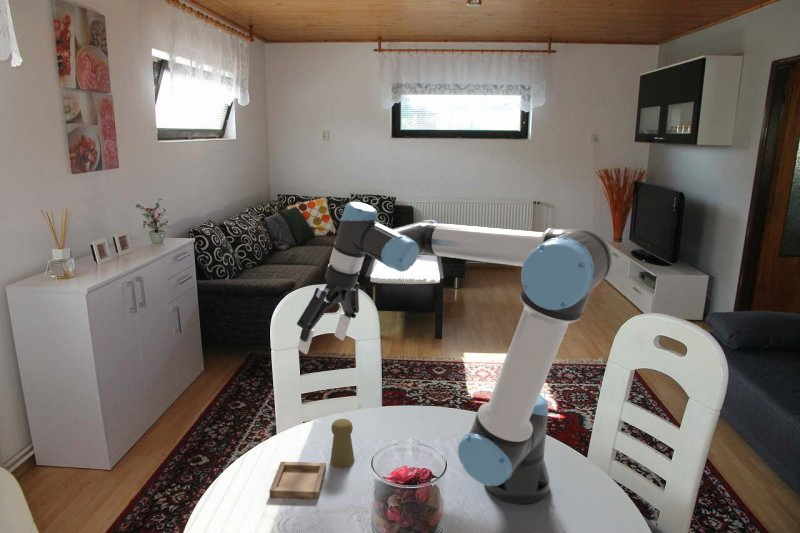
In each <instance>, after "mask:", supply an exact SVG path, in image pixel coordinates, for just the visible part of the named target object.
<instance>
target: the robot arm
mask: <svg viewBox="0 0 800 533" xmlns="http://www.w3.org/2000/svg"><path fill="white" fill-rule="evenodd" d="M377 219H378V210H377V208H375V207H373V206H372V205H370V204H367V203H364V202H360V201H351V202H348V203H347V204H346V205H345V207H344V210H343V213H342V215H341V218H340V222H339V226H338V230H337V233H336V237H335V242H334V244H333V248H332V252H331V255H330V258H329V264H328V265H327V268H326V271H325V275H324V278H325V280H326V285H325V287H324V288H320V287H319V286H317V287H316V288H315V289H314V292H313V295H312V297H311V299H310V300H309V303H308V304H307V306H306V308H305V309H304V311H303V312H302V314H301V316H300V318H299V319H298V320H297V322H296V325H297V326H298V327H300V328H301V332H300V336H299V342H298V345H297V349H298V351H300V352H301V353H303V354H304V355H308V354H309V350H310V347H311V343H312V339H313V336H314V333H315V329H314V327H315V326H316V325H317V323H319V321H320V320H321V318H322V317H323V316H324V314H326V312H327V311H328V309H331V308H332V307H333V306H334V305H336V304H340V306H341V308H342V311H343V312H342V313H340V316H339V319H338V323H337V325H336V328H335V329H336V330H335V332H334V337H336V338H337V339H339V340H341V341H344V340H345V338H346V335H347V331H348V328H349V326H350V323H351V322H350V321H351V319H355V318H356V317H357V314H358V313H359V312H360V302H359V299H360V298H359V289H360V283H359V282H358V279H359V276H360V271H361V269H362V266H363V262H364V259H365V256H366V255H368V256H370V257H372V258H374V260H376V261H378V262H380V263H381V264H383V265H385V266H386V267H388V268H390V269H393V270H396V271H397V272H407V270H410V268H411V267H413V265H414V264H415V263H416V260H417V259H418V256H421V255H427V256H434V257H435V256H436V257H445V258H446V257H447V258H453V259H454V258H455V259H461V260H467V261H468V260H470V261H477V262H478V261H479V262H486V263H493V264H500V265H508V266H517V267H521V273H520V277H521V278H520V279H521V280H520V281H521V285H522V289H521V292H520V295H519V299H520V301H521V303H522V304H523V309H522V312H521V315H520V317H519V321H518V323H517V326H516V329H515V331H514V334H513V337H512V340H511V343H510V346H509V348H508V351H507V353H506V356H505V359H504V361H503V364H502V366H501V369H500V372H499V375H498V377H497V380H496V383H495V385H494V388H493V391H492V392H491V393H492V394H491V396H490V399H489V401H488V402H485V403H482V404H481V405H480V406H479V408H478V410H477V413H476V415H475V417H474V418H475V419H474V421H473V423H472V426H471V429H470V430H469V432H468V433H467V434H465V435H464V436H463V437H462V438H461V440H460V442H459V444H458V447H457V453H458V455H457V456H458V459H459V463H461V465H462V468H463V469H464V471H465V472H466V473H467V474H468V475H469V476H470V477H471V478H472V479H473V480H474V481H477V482H478V483H480V484H482V485H484V486H485V488H486V489H487V491H488V493H490V494H491V495H493V496H494V497H496V498H498V499H499V500H502V501H504V502H507V503H510V504H511V503H512V504H519V505H527V504H534V503H537V502H540V501H541V500H543V499H545V497H546V496H547V495H548V494H549V490H550V476H549V474H548V473H549V472H548V470H547V469H548V467H547V466H546V465H547V464H546V461H545V449H546V447H545V446H546V438H547V427H548V416H549V403H548V401H547V399H546V398H545V397H543V396H542V395H541V392H542V389H543V387H544V385H545V382H546V381H547V378H548V375H549V372H550V370H551V367H552V365H553V362H554V360H555V359H556V355H557V354H558V351H559V348H560V346H561V343H562V341H563V339H564V335H566V334H565V333H566V331H567V329H568V326H569V324H572V323H575V322H578V321H579V320H580V319H581V318H582V315H583V313H584V310H585V308H586V306H587V303H588V301H589V299H590V296H591V294H592V291H593V290H594V289H595V288H596V287H597V286H599V285H600V284H601V283H602V282H603V281H604V280H605V279H606V277H608V275H609V273H610V270H611V269H612V268H611V267H612V264H613V263H612V262H613V261H612V260H613V259H612V258H613V257H612V256H613V255H612V252H611V248H610V246H609V245H608V243H607V241H606V240H605V239H604V238H603V237H602V236H601V235H599V234H598V233H596V232H594V231H592V230H589V229H583V228H556V227H554V228H553V227H549V228H547V229H546V230H545V231H544V232H541V231H531V230H530V231H529V230H521V229H510V228H509V229H506V228H497V227H483V226H472V225H471V226H470V225H461V224H449V223H439V222H438V221H436V220H434V219H433V220H432V219H427V220H426V219H425V220H424V219H423V220H419V221H417V222H414V223H410V224H405V225H402V226H399V227H395V228H390V227H389V226H387V225H384V224H382V223H381V222H379V221H378V220H377Z"/></svg>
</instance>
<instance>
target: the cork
mask: <svg viewBox="0 0 800 533" xmlns="http://www.w3.org/2000/svg"><path fill="white" fill-rule="evenodd" d="M330 429H331V433H332V434H333V438H332V439H333V440H332V445H331V452H330V453H331V454H330V461H329V462H330V464H331V466H333V467H334V468H337V469H347V468H350V467H351V466H353V465H354V464H355V460H356V459H355V456H354V449H353V448H354V447H353V443H352V442H353V441H352V433H353V430H354V427H353V423H352V422H351V420H349V419H346V418H338V419H336V420H334V421H333V422H332V425H331V428H330Z"/></svg>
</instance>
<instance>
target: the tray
mask: <svg viewBox="0 0 800 533" xmlns="http://www.w3.org/2000/svg"><path fill="white" fill-rule="evenodd" d="M326 472H327V463H326V462H309V461H308V462H305V461H304V462H303V461H301V462H300V461H280V462H279V465H278V468H277V469H276V473H275V476H274V477H273V481H272V483H271V485H270V488H269V499H282V500H283V499H285V500H287V499H290V500H313V501H314V500H317V501H318V500H319V499H320V495H321V492H322V488H323V483H324V481H325V477H326V476H325V475H326Z"/></svg>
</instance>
